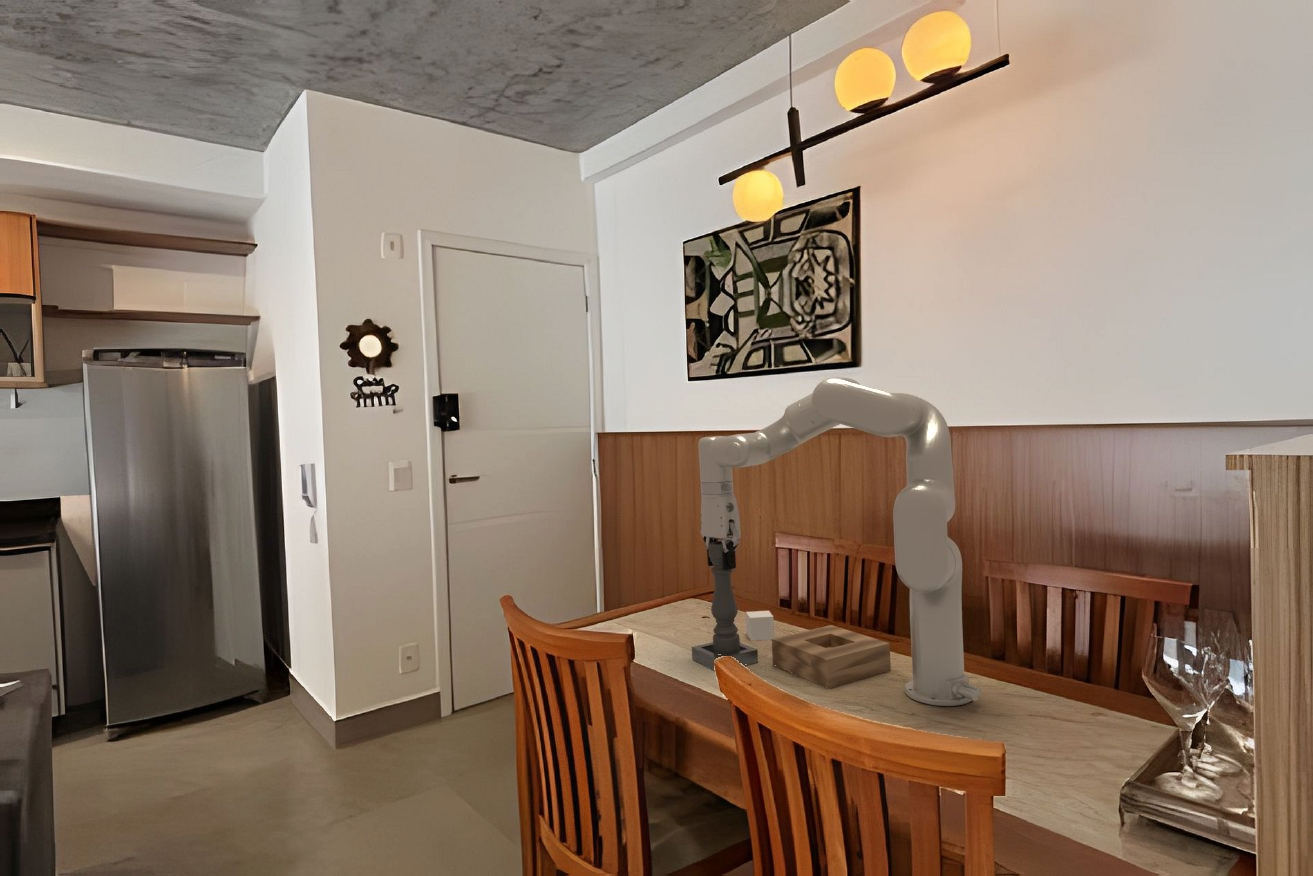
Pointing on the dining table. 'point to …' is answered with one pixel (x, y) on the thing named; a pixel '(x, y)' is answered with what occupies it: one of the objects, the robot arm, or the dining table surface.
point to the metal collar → (707, 654)
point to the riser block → (831, 655)
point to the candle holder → (723, 604)
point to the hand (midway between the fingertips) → (721, 566)
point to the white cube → (760, 625)
